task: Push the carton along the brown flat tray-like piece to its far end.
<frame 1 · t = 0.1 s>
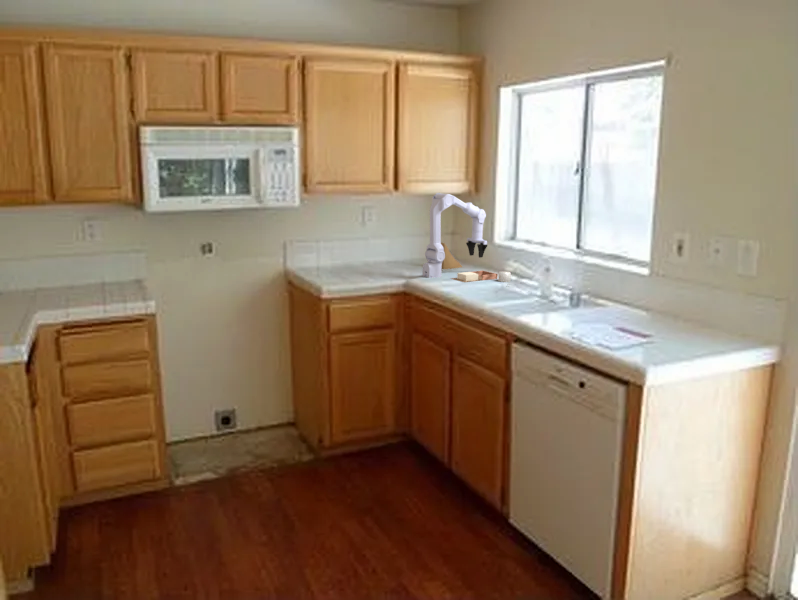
hand: (476, 256, 365), 10 cm above the counter, tool pointing down, fingers open, 7 cm apart
sandwich container: (448, 267, 389), on the counter
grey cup: (504, 283, 343), on the counter
carton: (467, 279, 345), point 1 cm above the counter, touching brown flat tray-like piece
brown flat tray-like piece: (473, 281, 347), on the counter
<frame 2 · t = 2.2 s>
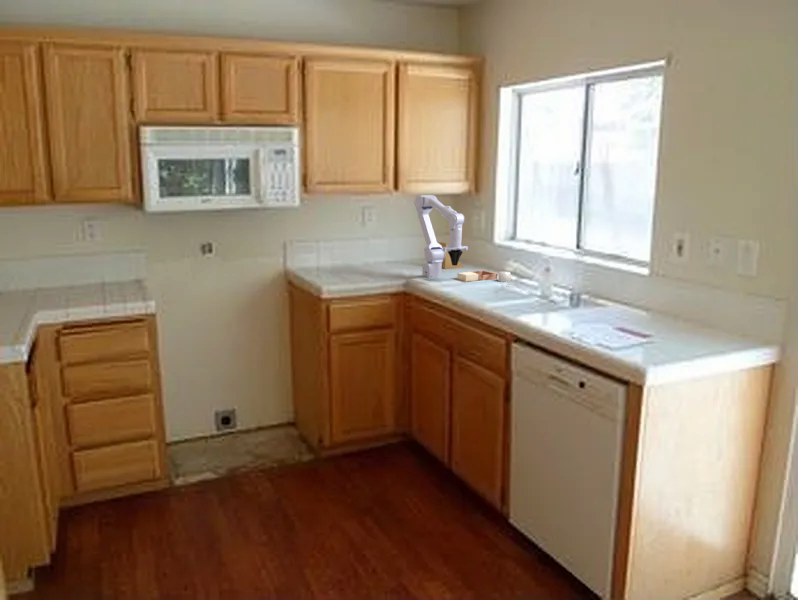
hand: (454, 265, 338), 9 cm above the counter, tool pointing down, fingers closed
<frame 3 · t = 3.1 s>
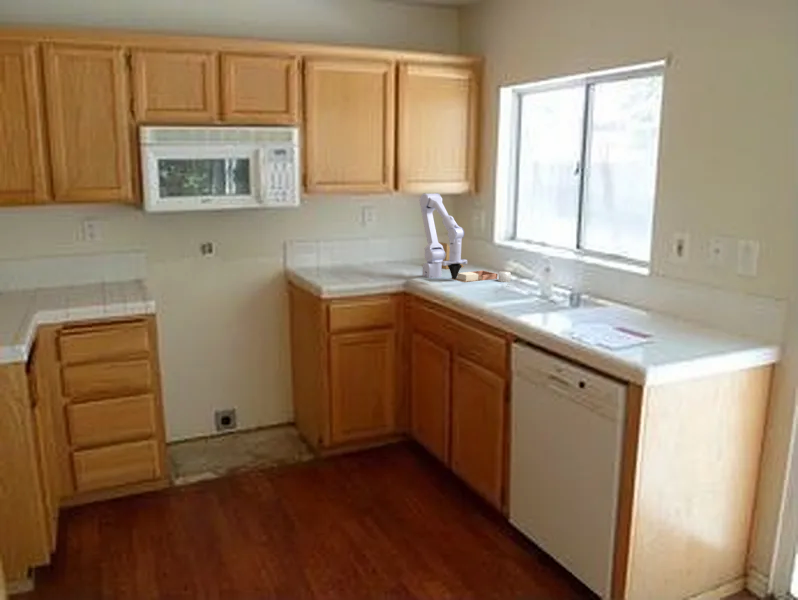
hand: (454, 278, 340), 3 cm above the counter, tool pointing down, fingers closed
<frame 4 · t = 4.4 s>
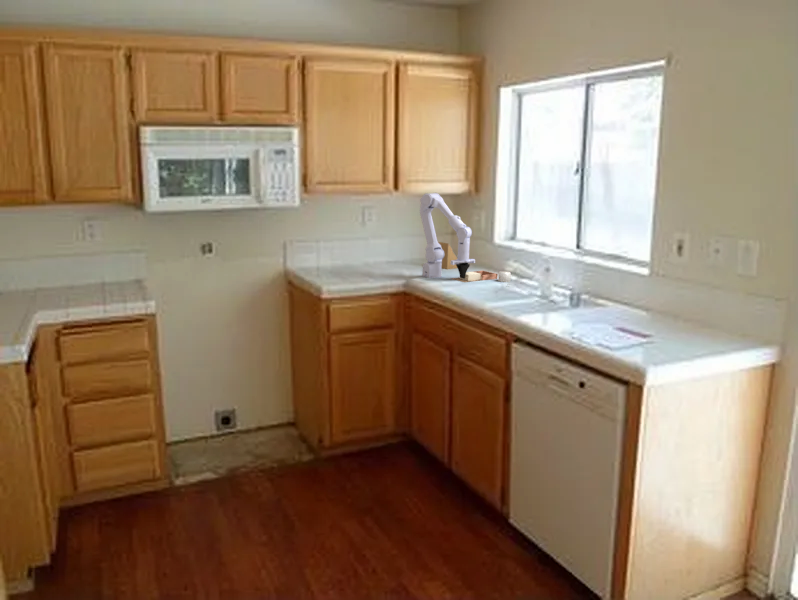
hand: (462, 277, 342), 3 cm above the counter, tool pointing down, fingers closed
carton: (469, 279, 346), point 2 cm above the counter, touching brown flat tray-like piece, gripper
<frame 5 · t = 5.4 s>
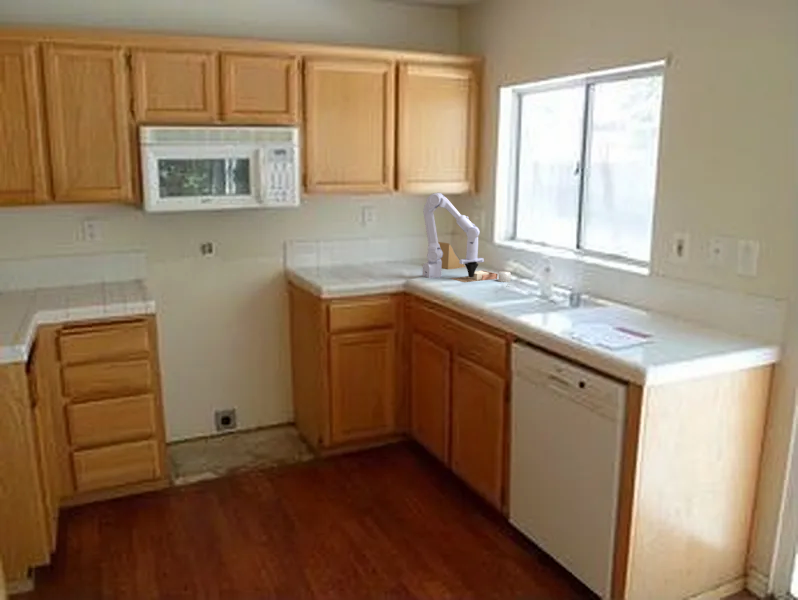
hand: (470, 277, 346), 3 cm above the counter, tool pointing down, fingers closed
carton: (478, 278, 349), point 2 cm above the counter, touching brown flat tray-like piece, gripper
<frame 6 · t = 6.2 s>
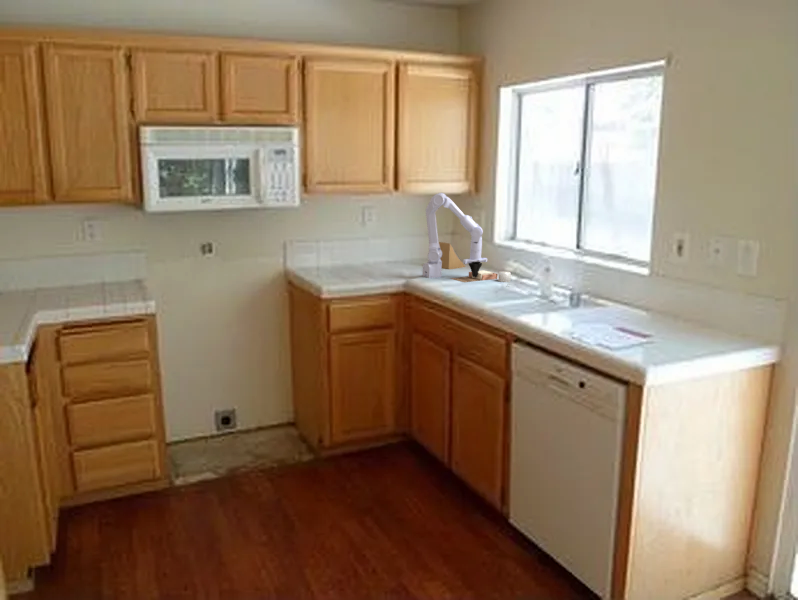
hand: (474, 276, 347), 3 cm above the counter, tool pointing down, fingers closed
carton: (482, 277, 350), point 1 cm above the counter, touching brown flat tray-like piece, gripper
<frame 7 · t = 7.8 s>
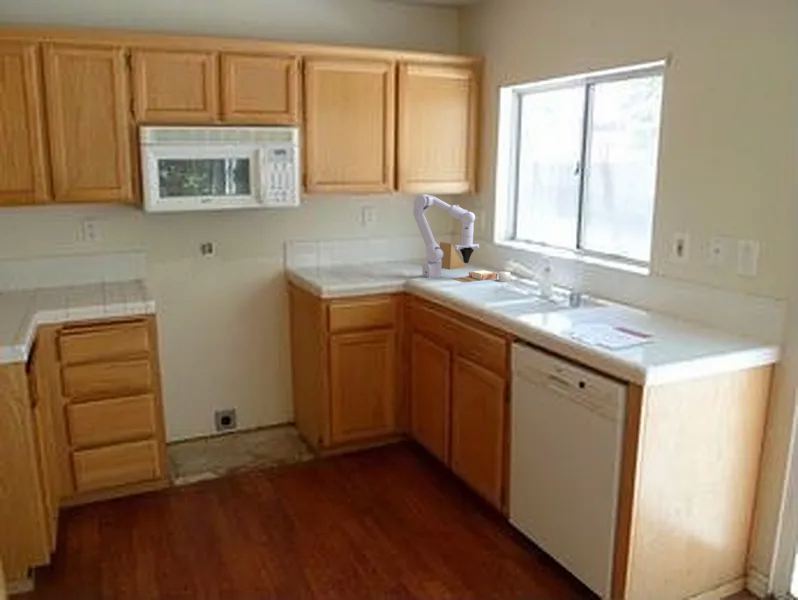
hand: (466, 262, 344), 10 cm above the counter, tool pointing down, fingers closed
carton: (482, 277, 350), point 1 cm above the counter, touching brown flat tray-like piece
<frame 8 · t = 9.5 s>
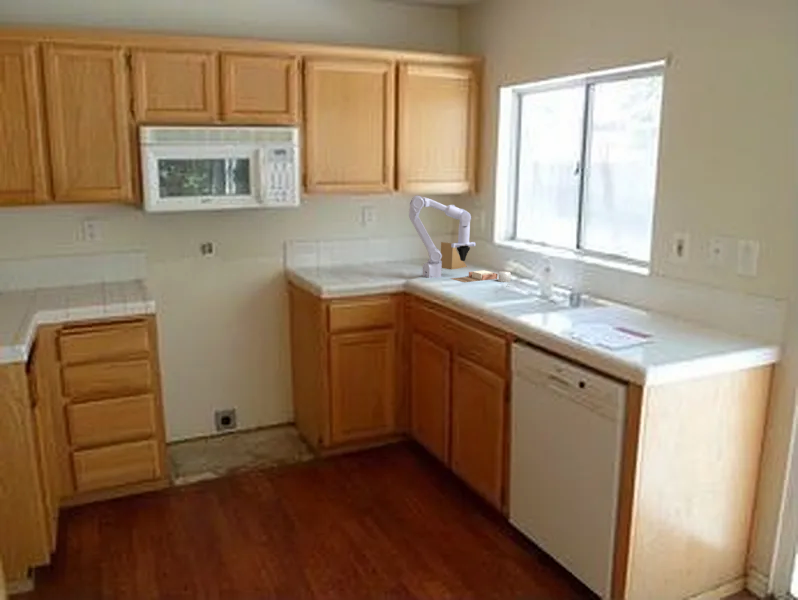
hand: (462, 260, 350), 10 cm above the counter, tool pointing down, fingers closed
at the end: carton 0.1 cm from the target spot on the brown flat tray-like piece, point 1.5 cm above the brown flat tray-like piece's base; carton tilted 0° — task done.
